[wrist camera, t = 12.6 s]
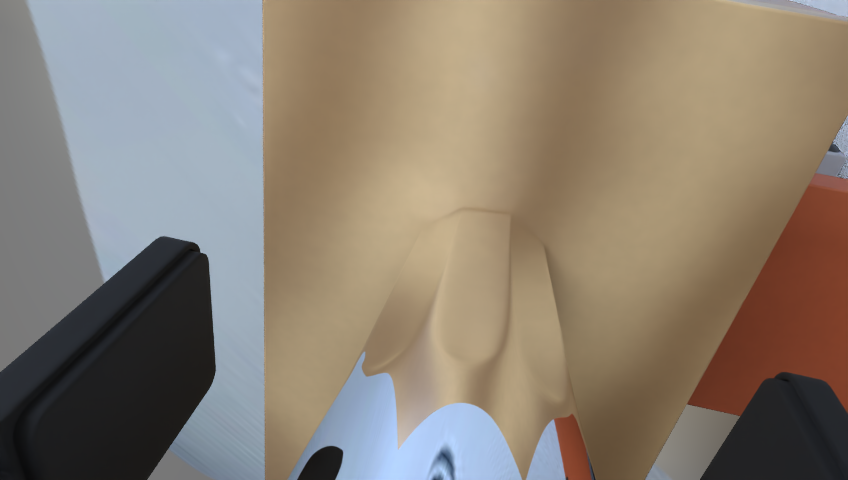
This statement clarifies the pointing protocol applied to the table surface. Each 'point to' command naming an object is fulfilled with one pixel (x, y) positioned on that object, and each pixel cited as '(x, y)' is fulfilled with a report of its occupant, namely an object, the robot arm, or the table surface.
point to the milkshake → (459, 369)
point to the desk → (538, 179)
